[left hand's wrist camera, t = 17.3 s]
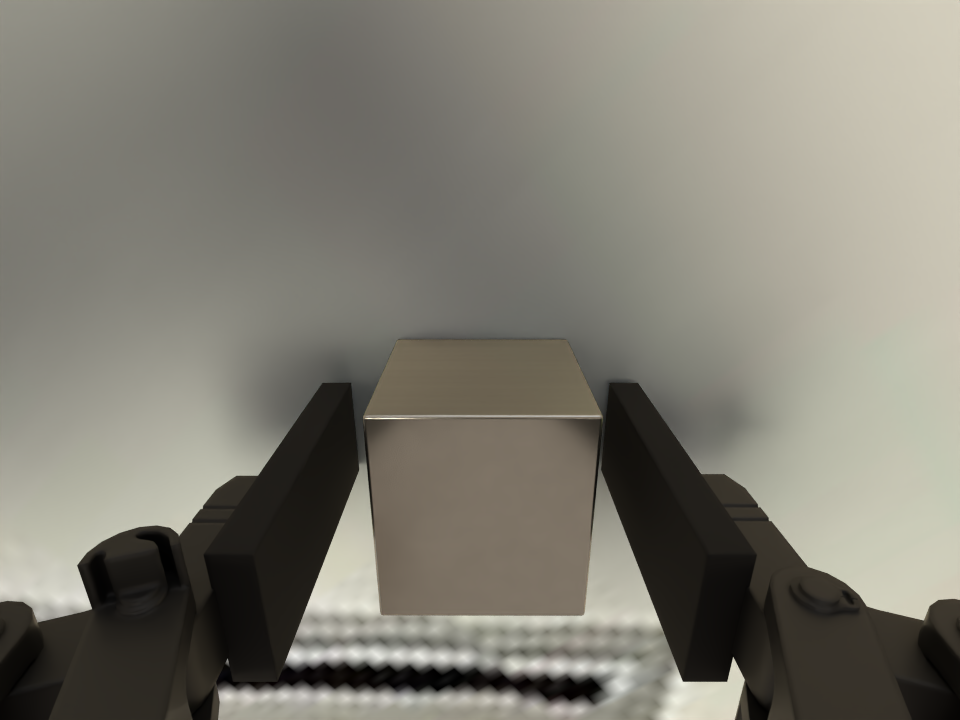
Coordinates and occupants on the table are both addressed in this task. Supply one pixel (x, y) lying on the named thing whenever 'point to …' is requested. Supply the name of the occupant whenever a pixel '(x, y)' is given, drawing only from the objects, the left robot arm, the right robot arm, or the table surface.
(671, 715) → the table surface
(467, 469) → the block
